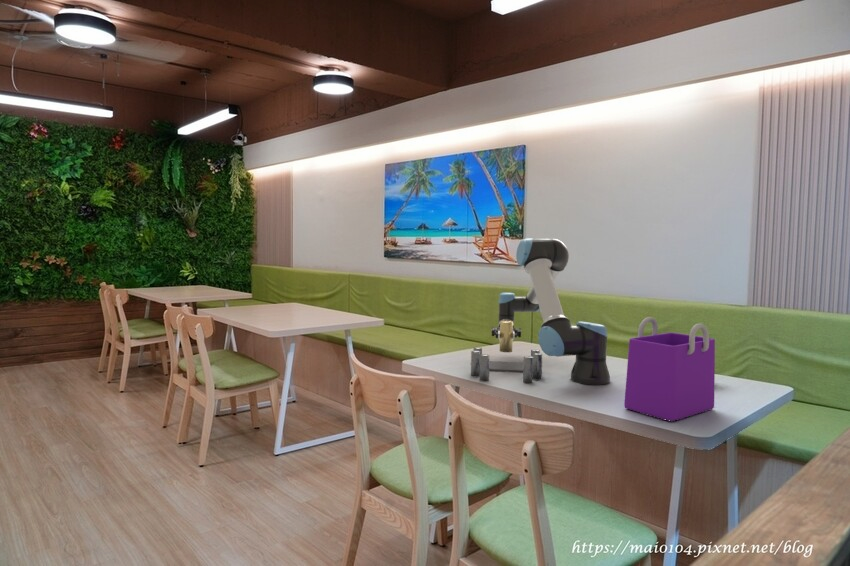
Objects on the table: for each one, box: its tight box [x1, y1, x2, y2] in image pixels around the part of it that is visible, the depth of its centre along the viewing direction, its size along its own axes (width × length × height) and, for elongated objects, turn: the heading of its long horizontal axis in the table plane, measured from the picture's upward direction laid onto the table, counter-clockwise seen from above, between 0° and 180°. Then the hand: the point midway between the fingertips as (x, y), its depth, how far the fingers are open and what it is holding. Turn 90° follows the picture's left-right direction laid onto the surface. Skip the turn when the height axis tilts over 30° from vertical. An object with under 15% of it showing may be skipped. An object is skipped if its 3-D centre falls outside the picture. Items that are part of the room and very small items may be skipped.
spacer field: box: [470, 346, 543, 384], centre depth 222 cm, size 29×18×10 cm, turn 82°
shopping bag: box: [623, 316, 716, 422], centre depth 179 cm, size 28×22×30 cm
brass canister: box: [499, 321, 514, 353], centre depth 238 cm, size 6×6×13 cm
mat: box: [489, 360, 524, 373], centre depth 239 cm, size 16×16×1 cm
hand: (506, 336), depth 233 cm, fingers closed on brass canister, 6 cm apart
